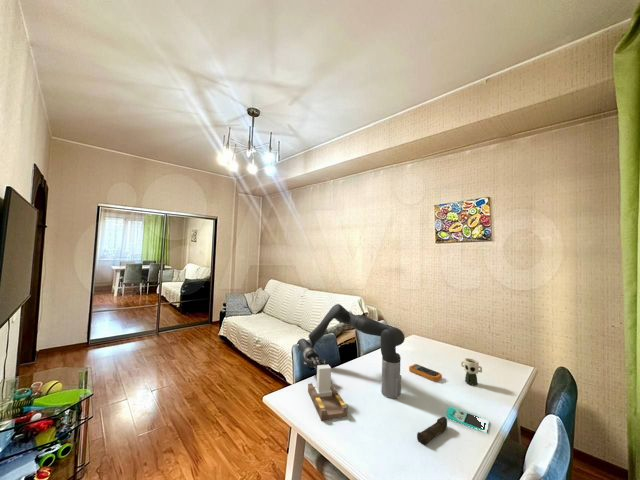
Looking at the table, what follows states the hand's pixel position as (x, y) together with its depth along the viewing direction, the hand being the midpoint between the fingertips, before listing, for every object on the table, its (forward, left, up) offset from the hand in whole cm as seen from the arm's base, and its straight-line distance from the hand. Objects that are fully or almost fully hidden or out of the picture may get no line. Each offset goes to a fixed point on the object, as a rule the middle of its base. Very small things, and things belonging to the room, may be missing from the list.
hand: (319, 368), depth 138 cm
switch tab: (-7, +6, -8) cm, 12 cm away
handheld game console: (-67, -19, -11) cm, 71 cm away
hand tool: (-57, +1, -11) cm, 58 cm away
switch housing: (-10, +9, -11) cm, 17 cm away
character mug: (-66, -59, -11) cm, 90 cm away
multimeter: (-42, -54, -11) cm, 69 cm away
